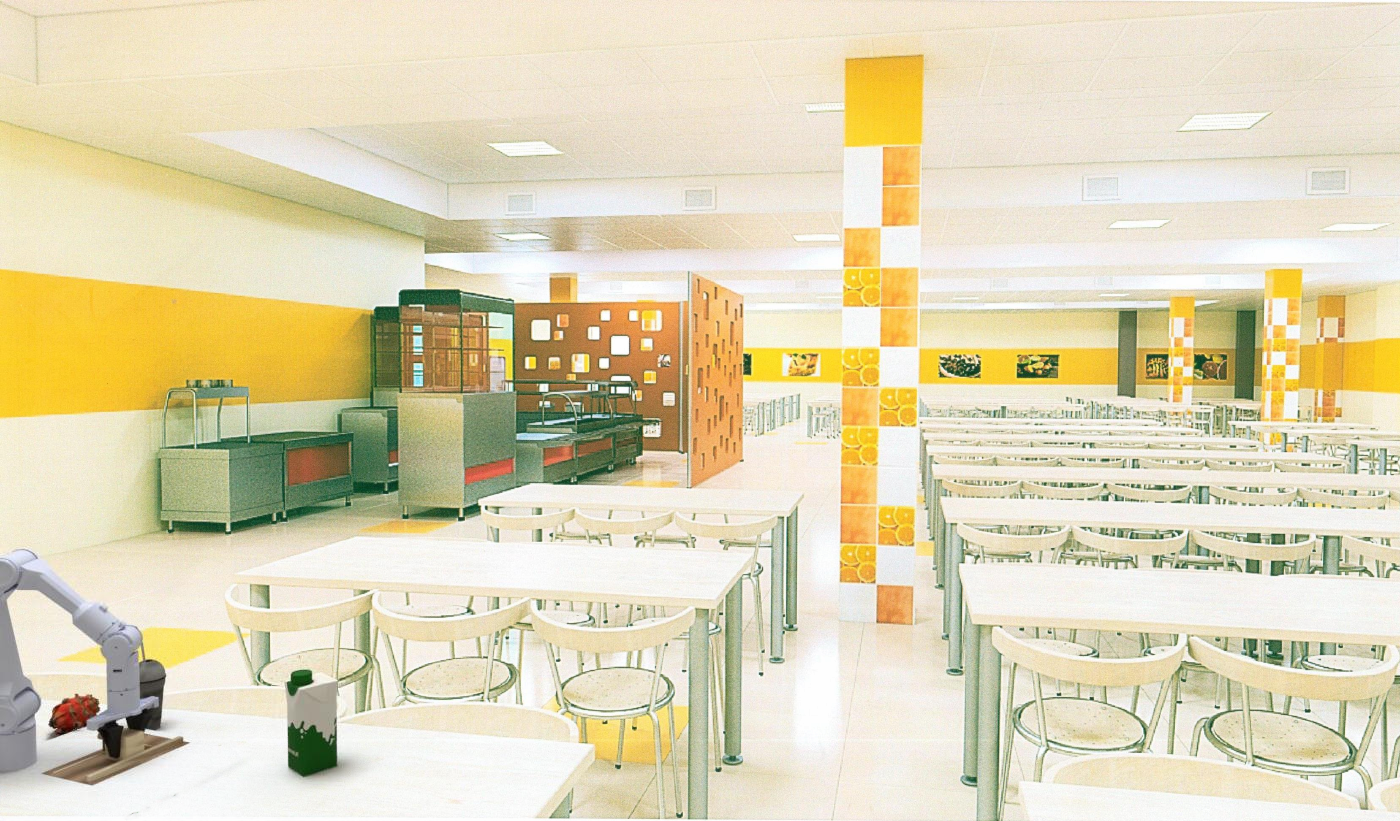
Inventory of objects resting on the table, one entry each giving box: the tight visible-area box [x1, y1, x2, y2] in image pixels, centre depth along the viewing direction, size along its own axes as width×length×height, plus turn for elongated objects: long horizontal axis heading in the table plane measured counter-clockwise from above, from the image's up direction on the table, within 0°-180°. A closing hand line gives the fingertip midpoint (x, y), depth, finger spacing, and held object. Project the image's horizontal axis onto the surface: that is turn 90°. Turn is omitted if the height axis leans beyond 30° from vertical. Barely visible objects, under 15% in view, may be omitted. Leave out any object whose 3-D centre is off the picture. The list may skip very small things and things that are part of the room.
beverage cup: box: [139, 641, 167, 732], centre depth 215 cm, size 7×7×20 cm
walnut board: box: [41, 732, 191, 786], centre depth 196 cm, size 14×22×3 cm, turn 159°
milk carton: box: [284, 669, 339, 778], centre depth 196 cm, size 9×9×20 cm
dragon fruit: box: [47, 693, 101, 736], centre depth 213 cm, size 8×8×12 cm
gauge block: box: [96, 727, 145, 761], centre depth 197 cm, size 10×4×5 cm, turn 69°
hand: (124, 752), depth 196 cm, fingers closed on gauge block, 4 cm apart
